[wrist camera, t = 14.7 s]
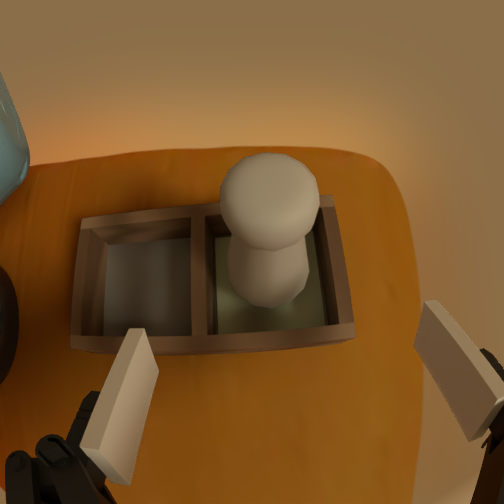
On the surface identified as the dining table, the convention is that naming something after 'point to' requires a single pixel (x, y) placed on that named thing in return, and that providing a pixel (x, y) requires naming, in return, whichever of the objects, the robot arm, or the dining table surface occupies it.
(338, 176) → the dining table surface
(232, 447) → the dining table surface
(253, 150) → the dining table surface
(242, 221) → the salt shaker
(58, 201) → the dining table surface
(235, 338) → the wooden compartment tray
